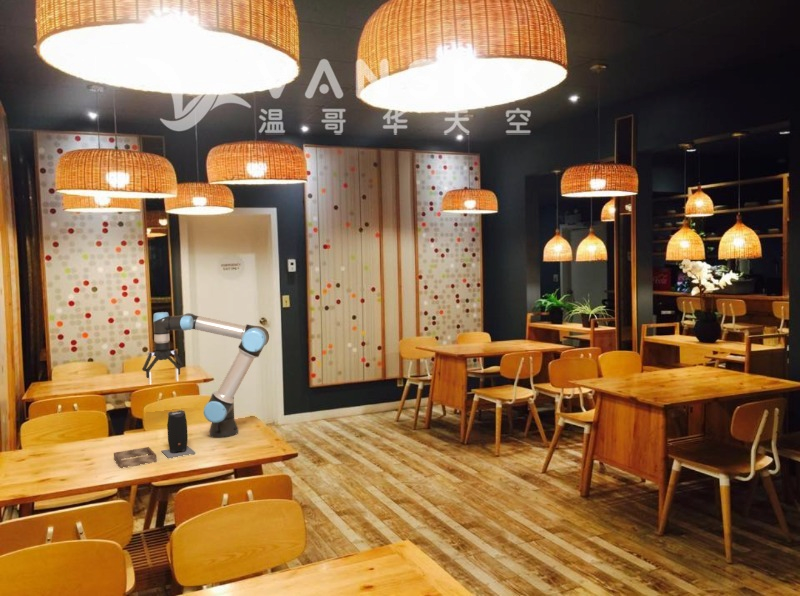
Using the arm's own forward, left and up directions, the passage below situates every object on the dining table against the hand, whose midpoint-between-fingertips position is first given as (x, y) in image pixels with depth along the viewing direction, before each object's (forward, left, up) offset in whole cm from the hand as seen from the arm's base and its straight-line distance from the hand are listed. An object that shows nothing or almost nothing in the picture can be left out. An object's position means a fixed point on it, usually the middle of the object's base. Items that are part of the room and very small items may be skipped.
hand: (163, 382), depth 334 cm
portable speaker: (0, +24, -31) cm, 39 cm away
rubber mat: (0, +24, -32) cm, 40 cm away
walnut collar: (+20, +24, -32) cm, 45 cm away
